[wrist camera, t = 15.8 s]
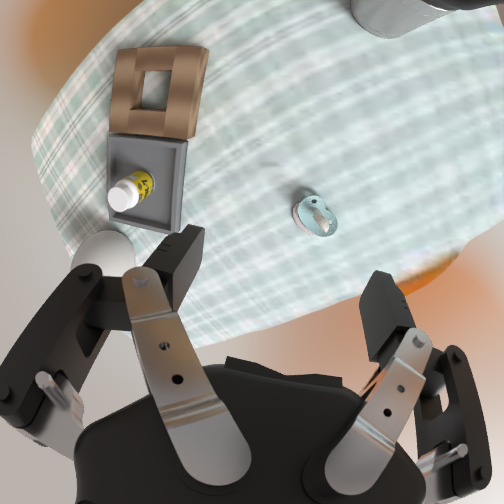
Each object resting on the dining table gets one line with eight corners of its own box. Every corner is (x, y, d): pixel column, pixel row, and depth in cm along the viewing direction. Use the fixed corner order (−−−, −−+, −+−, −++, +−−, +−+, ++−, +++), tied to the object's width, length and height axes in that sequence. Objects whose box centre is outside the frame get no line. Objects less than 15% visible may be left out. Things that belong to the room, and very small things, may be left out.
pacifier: (311, 239, 45) (340, 221, 42) (311, 260, 40) (345, 240, 37) (284, 207, 43) (314, 186, 40) (281, 225, 38) (316, 201, 35)
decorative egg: (92, 252, 54) (53, 292, 42) (103, 211, 48) (55, 250, 35) (134, 281, 56) (101, 328, 44) (151, 244, 50) (111, 292, 38)
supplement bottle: (155, 196, 44) (131, 217, 37) (133, 193, 44) (106, 212, 37) (156, 170, 41) (130, 186, 34) (132, 167, 41) (104, 183, 34)
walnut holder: (130, 51, 31) (118, 49, 28) (209, 50, 31) (201, 46, 28) (120, 128, 39) (109, 131, 36) (194, 136, 38) (186, 139, 35)
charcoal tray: (115, 133, 39) (107, 136, 37) (188, 141, 39) (182, 144, 37) (116, 214, 48) (109, 220, 46) (180, 229, 48) (174, 236, 45)
